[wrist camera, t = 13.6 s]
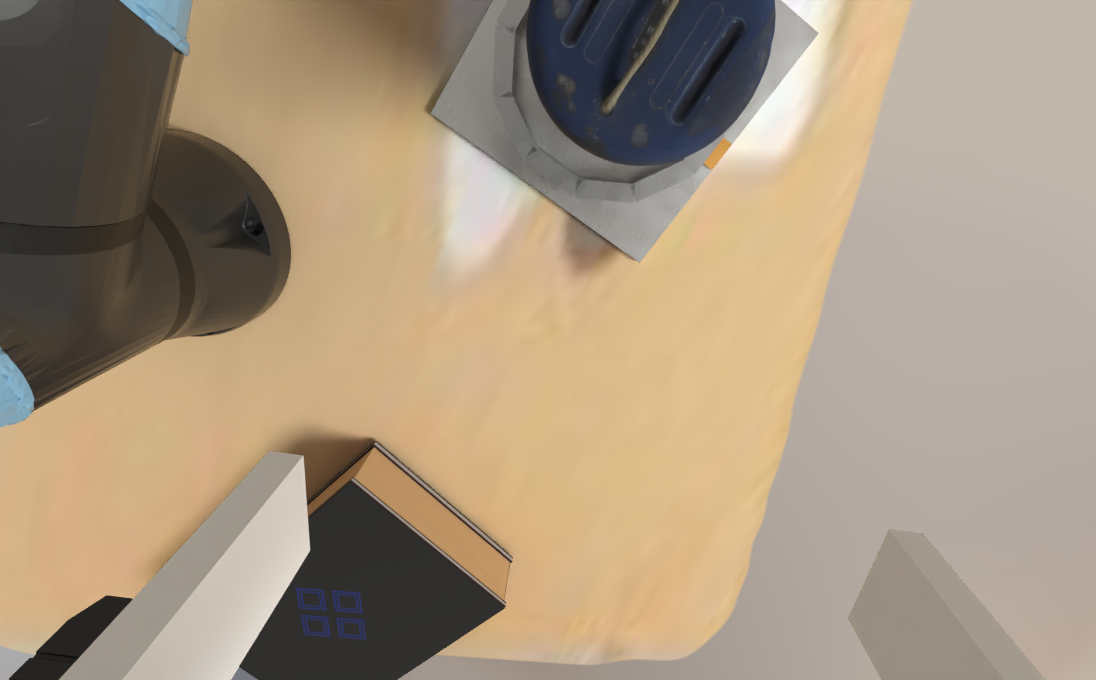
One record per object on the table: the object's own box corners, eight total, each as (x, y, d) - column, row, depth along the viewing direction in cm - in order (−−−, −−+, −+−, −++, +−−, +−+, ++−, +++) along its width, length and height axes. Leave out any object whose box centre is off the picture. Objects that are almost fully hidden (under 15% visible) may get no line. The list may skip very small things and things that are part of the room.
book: (514, 551, 52) (505, 608, 46) (354, 664, 60) (327, 726, 53) (379, 435, 48) (349, 481, 42) (224, 572, 55) (180, 628, 49)
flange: (432, 113, 37) (420, 113, 34) (585, -165, 31) (586, -194, 28) (638, 260, 40) (643, 271, 37) (814, 34, 34) (836, 26, 31)
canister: (515, 70, 35) (459, 24, 19) (625, -52, 33) (674, -232, 16) (612, 179, 38) (637, 225, 21) (722, 75, 35) (853, 32, 18)
